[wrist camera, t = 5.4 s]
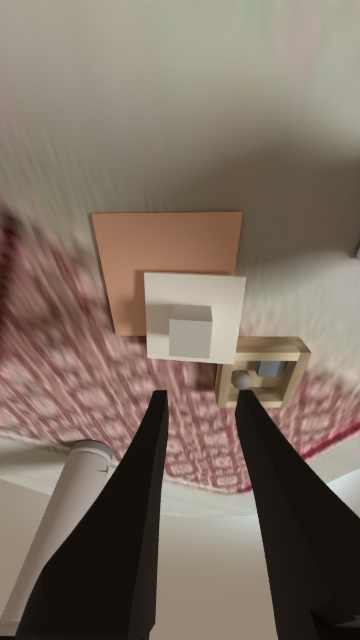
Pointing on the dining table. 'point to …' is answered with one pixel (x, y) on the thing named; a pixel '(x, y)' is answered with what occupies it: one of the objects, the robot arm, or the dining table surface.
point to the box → (263, 371)
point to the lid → (193, 316)
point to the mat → (160, 254)
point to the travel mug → (58, 522)
